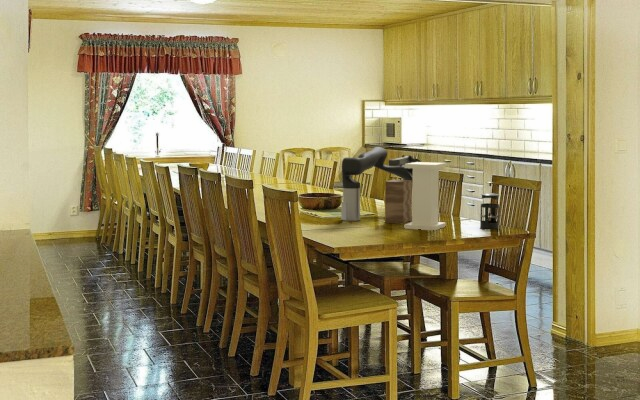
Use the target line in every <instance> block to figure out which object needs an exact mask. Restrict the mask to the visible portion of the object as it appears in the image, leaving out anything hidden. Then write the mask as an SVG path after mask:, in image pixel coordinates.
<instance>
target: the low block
mask: <svg viewBox="0 0 640 400" xmlns="http://www.w3.org/2000/svg"><path fill="white" fill-rule="evenodd" d="M384 187H385V188H384V189H385V190H384V199H385V201H384V203H385V204H384V208H385V209H384V215H385V216H384V217H385V218H384V223H387V224H400V223H401V224H402V223H404V224H407V223H410V222H412V180H404V179H391V180H386V181H385V186H384ZM409 221H410V222H409ZM406 222H407V223H406ZM401 224H400V225H401ZM402 225H403V224H402Z"/></svg>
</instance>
